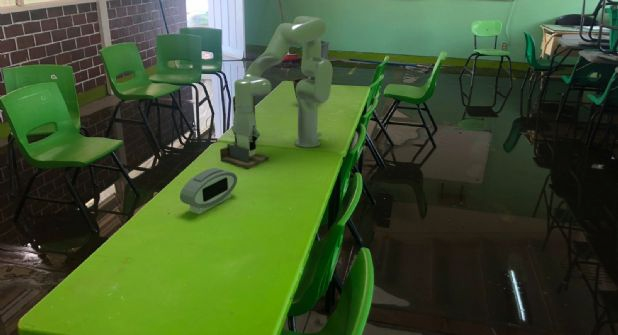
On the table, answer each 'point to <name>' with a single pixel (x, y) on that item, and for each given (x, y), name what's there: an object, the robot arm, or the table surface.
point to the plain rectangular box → (244, 143)
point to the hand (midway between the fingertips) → (246, 147)
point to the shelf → (241, 156)
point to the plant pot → (297, 83)
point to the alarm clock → (208, 189)
